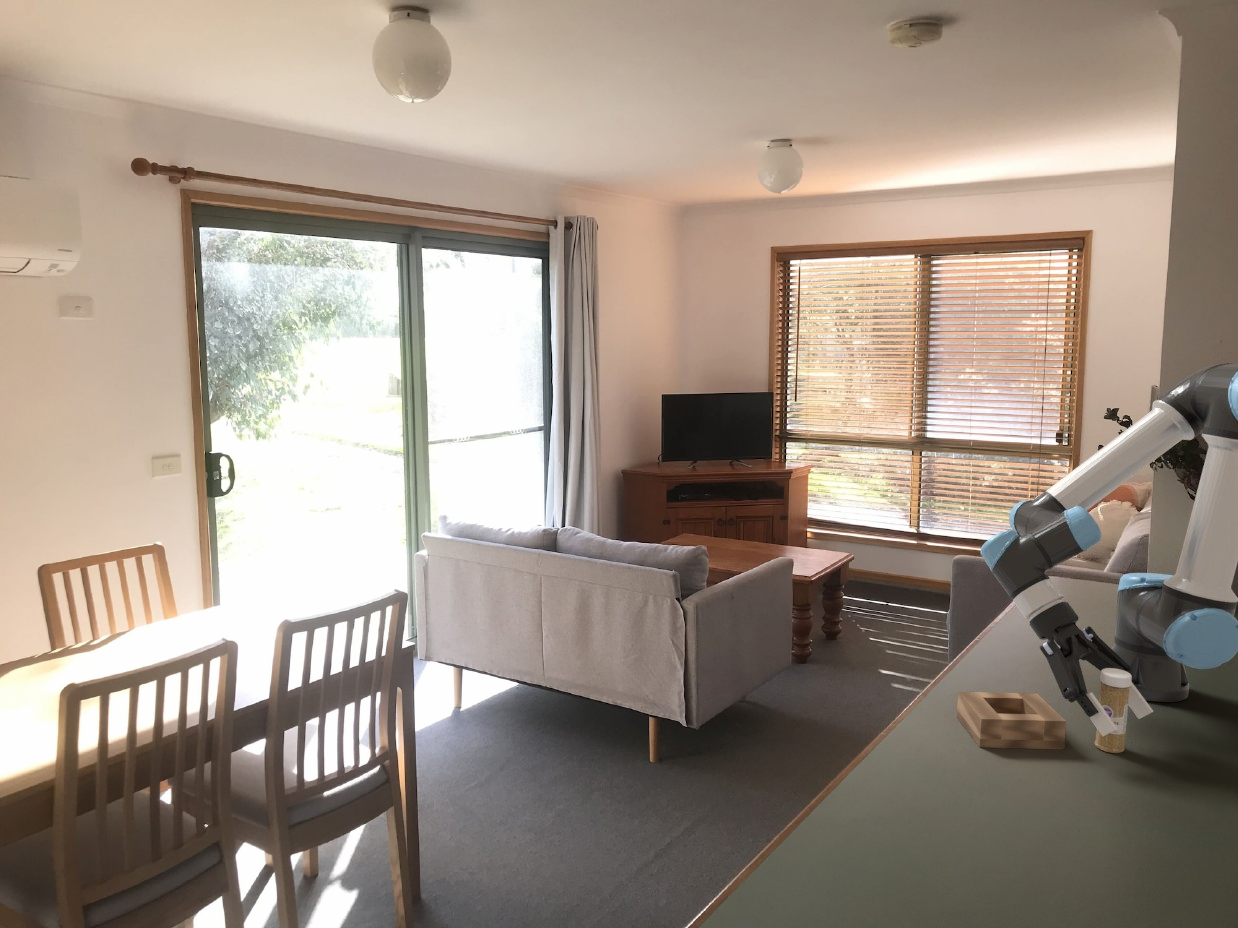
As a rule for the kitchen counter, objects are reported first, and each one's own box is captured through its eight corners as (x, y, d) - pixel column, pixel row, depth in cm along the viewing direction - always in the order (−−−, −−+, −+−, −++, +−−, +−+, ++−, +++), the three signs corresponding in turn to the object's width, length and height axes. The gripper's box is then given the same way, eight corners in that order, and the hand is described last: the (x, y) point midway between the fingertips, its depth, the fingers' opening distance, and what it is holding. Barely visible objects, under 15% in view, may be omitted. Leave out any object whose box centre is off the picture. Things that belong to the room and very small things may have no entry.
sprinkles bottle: (1091, 748, 154) (1097, 672, 153) (1098, 739, 158) (1104, 664, 156) (1121, 756, 152) (1128, 678, 150) (1127, 747, 155) (1134, 671, 153)
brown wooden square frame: (1034, 719, 166) (1036, 693, 165) (1063, 749, 154) (1066, 721, 153) (956, 717, 166) (958, 691, 166) (979, 747, 155) (981, 718, 154)
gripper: (1066, 610, 171) (1145, 716, 161) (993, 633, 158) (1074, 751, 147) (1097, 589, 166) (1180, 697, 156) (1024, 611, 153) (1110, 731, 142)
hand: (1128, 723), depth 152 cm, fingers open, 11 cm apart
